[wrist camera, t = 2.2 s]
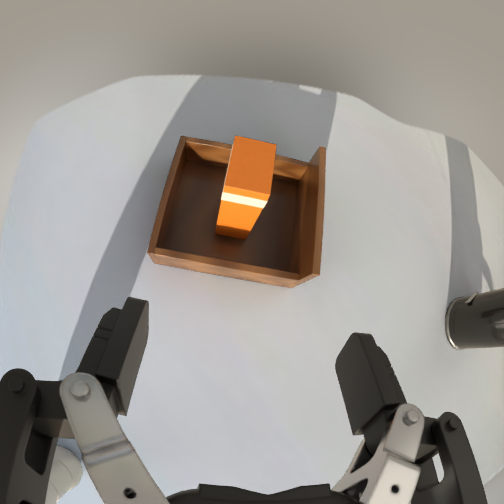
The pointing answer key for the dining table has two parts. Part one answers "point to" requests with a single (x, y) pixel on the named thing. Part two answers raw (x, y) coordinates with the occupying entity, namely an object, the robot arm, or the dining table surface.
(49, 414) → the robot arm
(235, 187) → the packet
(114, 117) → the dining table surface
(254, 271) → the drawer
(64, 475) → the plastic bottle
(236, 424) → the dining table surface
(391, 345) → the dining table surface
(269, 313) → the dining table surface
